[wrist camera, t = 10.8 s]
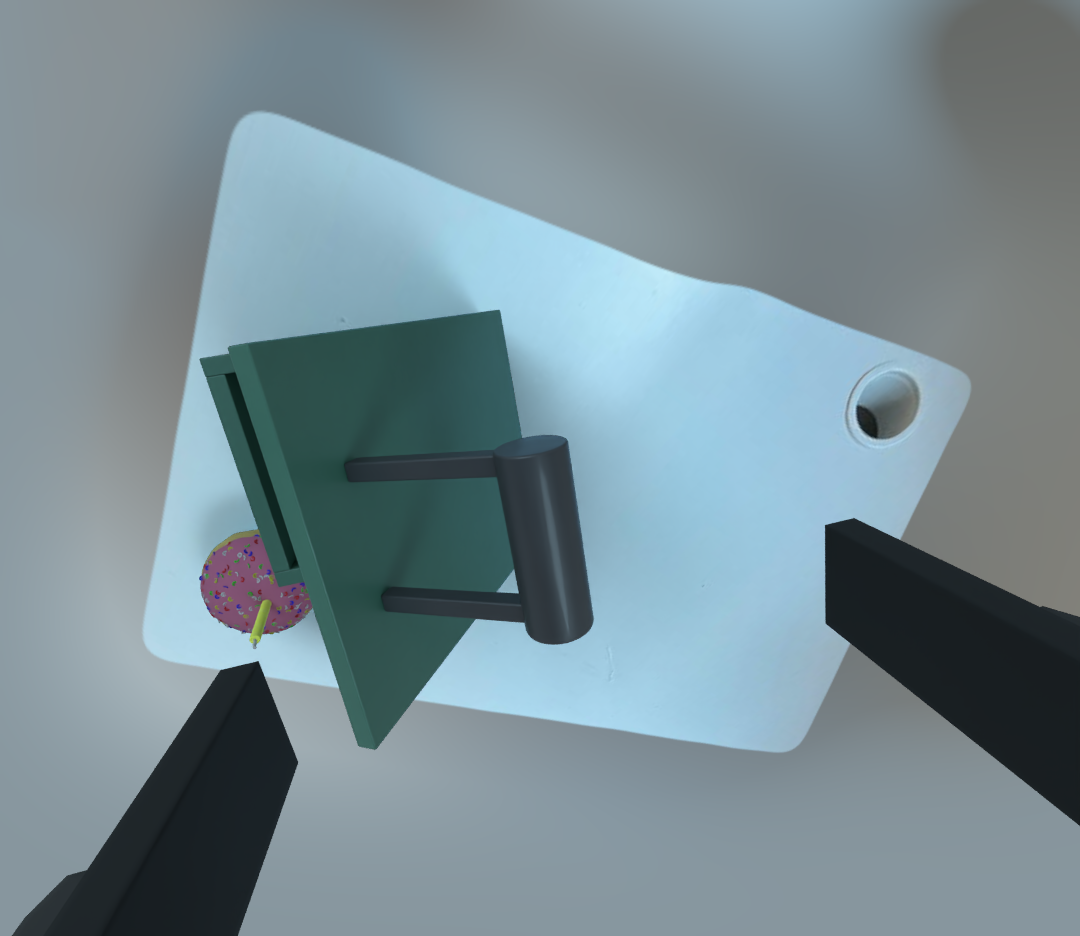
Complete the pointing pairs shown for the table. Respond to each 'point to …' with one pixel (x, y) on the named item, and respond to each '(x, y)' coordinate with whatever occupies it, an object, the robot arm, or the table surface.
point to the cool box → (252, 467)
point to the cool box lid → (413, 499)
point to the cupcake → (250, 589)
